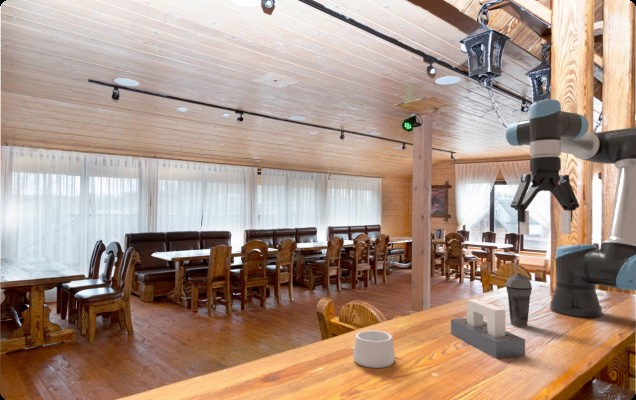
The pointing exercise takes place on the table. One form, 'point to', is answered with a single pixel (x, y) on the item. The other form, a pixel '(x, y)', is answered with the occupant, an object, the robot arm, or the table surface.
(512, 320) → the beverage cup
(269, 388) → the table surface
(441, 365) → the table surface
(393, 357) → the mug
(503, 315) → the white arch
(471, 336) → the cinder block
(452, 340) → the table surface
